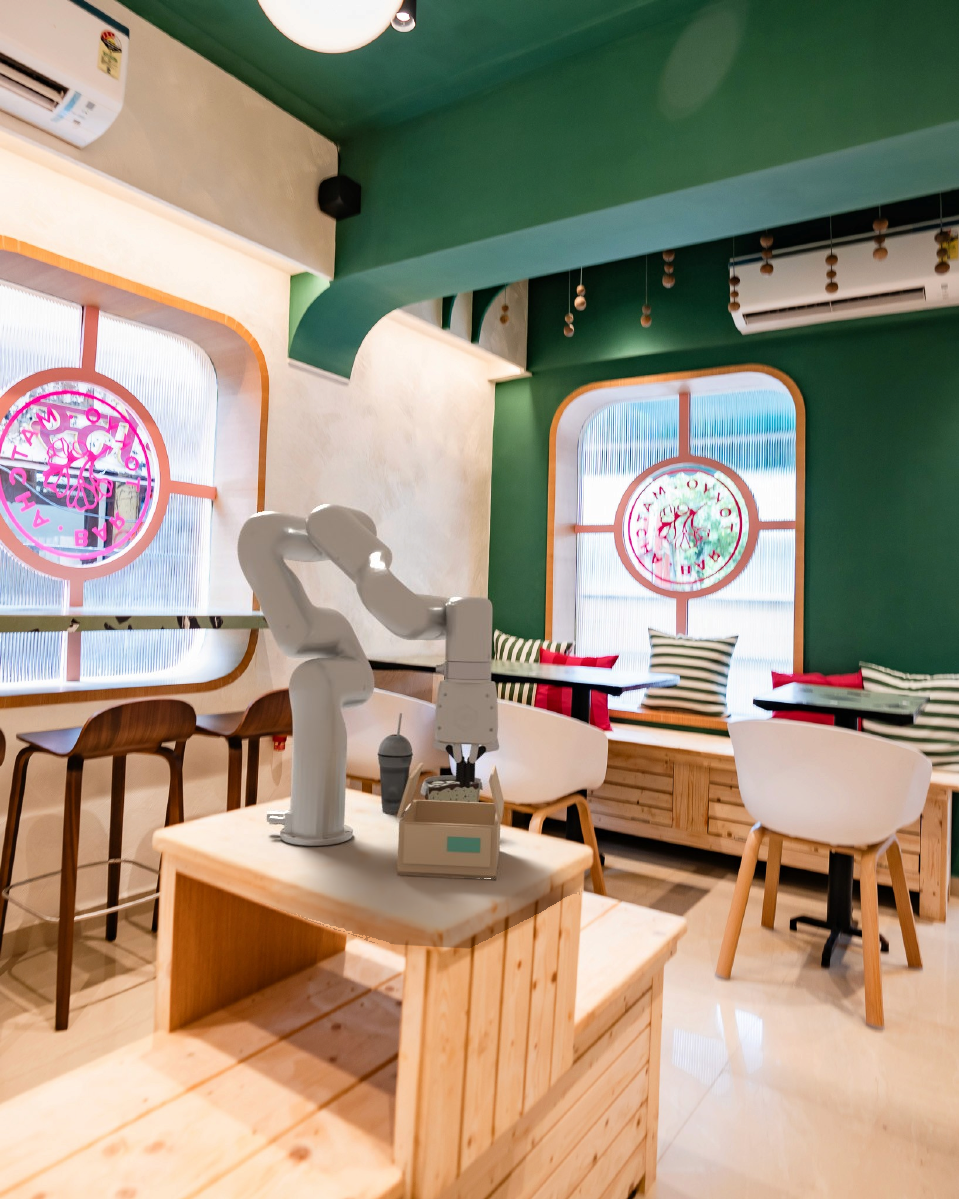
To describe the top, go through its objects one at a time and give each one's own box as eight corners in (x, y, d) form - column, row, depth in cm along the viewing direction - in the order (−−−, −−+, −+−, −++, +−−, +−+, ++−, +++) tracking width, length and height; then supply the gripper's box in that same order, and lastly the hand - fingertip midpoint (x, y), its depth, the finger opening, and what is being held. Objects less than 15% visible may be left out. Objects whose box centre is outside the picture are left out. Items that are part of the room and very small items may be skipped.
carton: (396, 876, 121) (398, 823, 121) (412, 845, 138) (414, 798, 138) (495, 881, 120) (497, 827, 120) (499, 849, 137) (501, 802, 137)
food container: (463, 825, 153) (465, 772, 153) (481, 833, 148) (483, 778, 148) (406, 833, 146) (408, 777, 147) (423, 841, 141) (425, 784, 141)
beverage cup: (393, 805, 168) (396, 710, 169) (418, 811, 163) (421, 713, 164) (367, 811, 162) (371, 712, 163) (393, 817, 158) (396, 715, 158)
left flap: (399, 818, 123) (396, 817, 123) (412, 799, 136) (409, 798, 136) (411, 778, 123) (408, 777, 123) (423, 763, 137) (420, 762, 137)
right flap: (488, 781, 122) (492, 780, 122) (492, 766, 136) (495, 765, 136) (498, 822, 122) (501, 821, 122) (501, 803, 136) (504, 802, 136)
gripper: (419, 672, 127) (416, 789, 126) (513, 675, 126) (510, 793, 125) (425, 670, 134) (422, 780, 133) (514, 672, 133) (512, 783, 132)
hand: (465, 786), depth 129 cm, fingers closed
